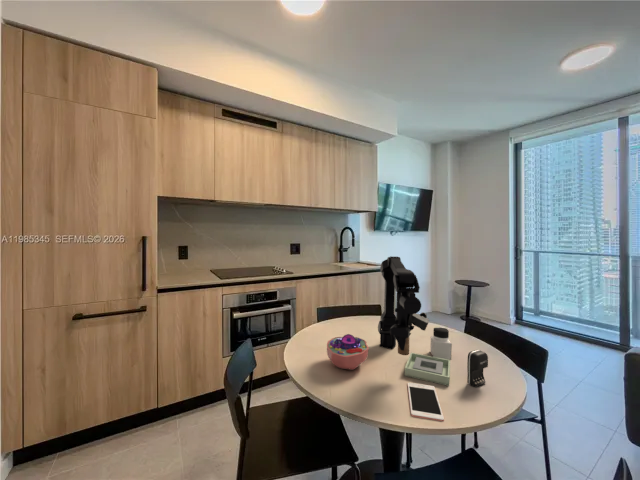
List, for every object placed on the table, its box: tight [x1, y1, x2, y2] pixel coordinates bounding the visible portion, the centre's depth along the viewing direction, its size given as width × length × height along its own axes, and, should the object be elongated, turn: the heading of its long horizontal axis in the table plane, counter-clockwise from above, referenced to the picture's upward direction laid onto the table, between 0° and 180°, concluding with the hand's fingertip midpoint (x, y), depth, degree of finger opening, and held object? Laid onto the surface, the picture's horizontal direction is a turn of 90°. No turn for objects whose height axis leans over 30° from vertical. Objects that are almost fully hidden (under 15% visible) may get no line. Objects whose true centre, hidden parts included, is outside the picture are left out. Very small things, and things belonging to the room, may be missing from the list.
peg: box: [397, 337, 410, 356], centre depth 102 cm, size 4×4×8 cm
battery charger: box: [466, 349, 489, 387], centre depth 97 cm, size 7×4×11 cm, turn 117°
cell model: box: [326, 333, 370, 370], centre depth 111 cm, size 17×20×11 cm
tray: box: [404, 352, 451, 387], centre depth 106 cm, size 15×15×3 cm
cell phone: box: [407, 382, 445, 422], centre depth 88 cm, size 9×18×1 cm, turn 166°
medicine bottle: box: [429, 326, 453, 361], centre depth 120 cm, size 7×7×12 cm
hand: (403, 347), depth 102 cm, fingers closed on peg, 4 cm apart
